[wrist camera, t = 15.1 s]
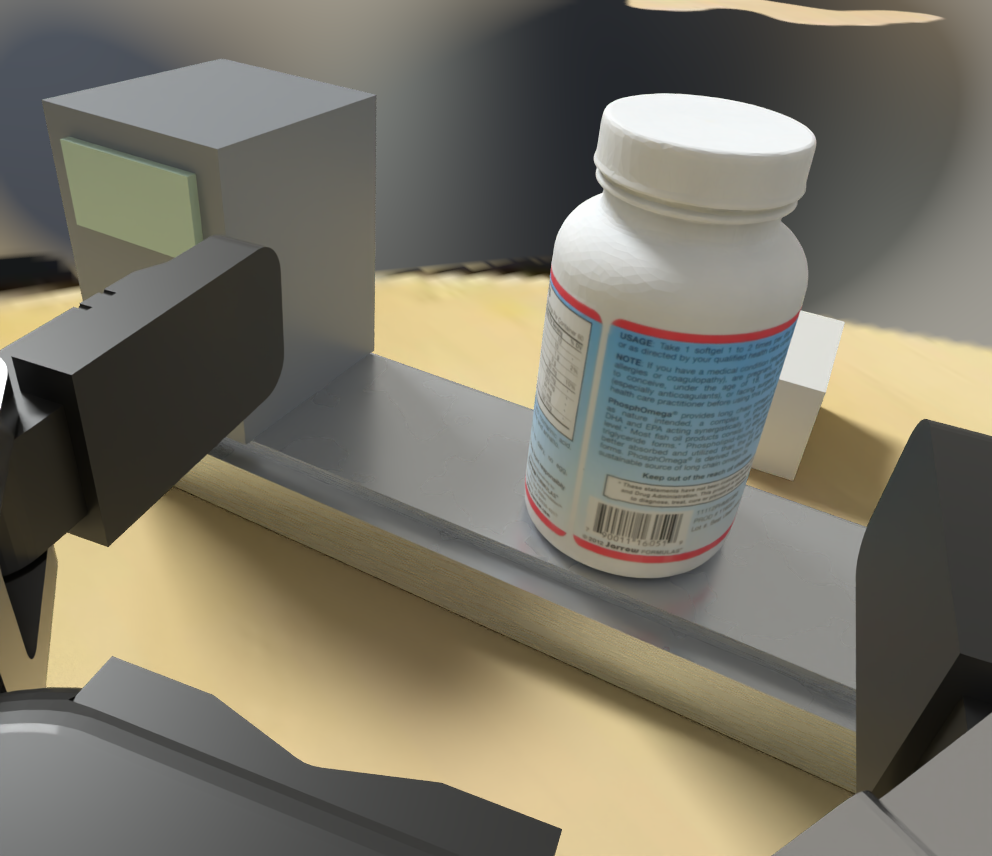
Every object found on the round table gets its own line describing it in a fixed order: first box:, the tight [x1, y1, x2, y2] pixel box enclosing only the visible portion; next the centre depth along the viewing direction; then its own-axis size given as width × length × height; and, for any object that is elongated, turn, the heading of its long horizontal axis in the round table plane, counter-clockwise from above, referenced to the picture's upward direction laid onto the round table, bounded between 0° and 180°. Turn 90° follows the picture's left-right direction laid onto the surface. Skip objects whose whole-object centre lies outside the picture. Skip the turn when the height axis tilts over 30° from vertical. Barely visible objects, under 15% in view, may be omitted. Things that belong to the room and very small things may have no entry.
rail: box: [174, 353, 867, 794], centre depth 26 cm, size 8×34×2 cm, turn 63°
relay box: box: [751, 311, 845, 481], centre depth 33 cm, size 6×4×4 cm, turn 155°
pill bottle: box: [525, 94, 816, 578], centre depth 22 cm, size 6×6×11 cm
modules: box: [42, 59, 376, 445], centre depth 23 cm, size 7×34×9 cm, turn 63°
